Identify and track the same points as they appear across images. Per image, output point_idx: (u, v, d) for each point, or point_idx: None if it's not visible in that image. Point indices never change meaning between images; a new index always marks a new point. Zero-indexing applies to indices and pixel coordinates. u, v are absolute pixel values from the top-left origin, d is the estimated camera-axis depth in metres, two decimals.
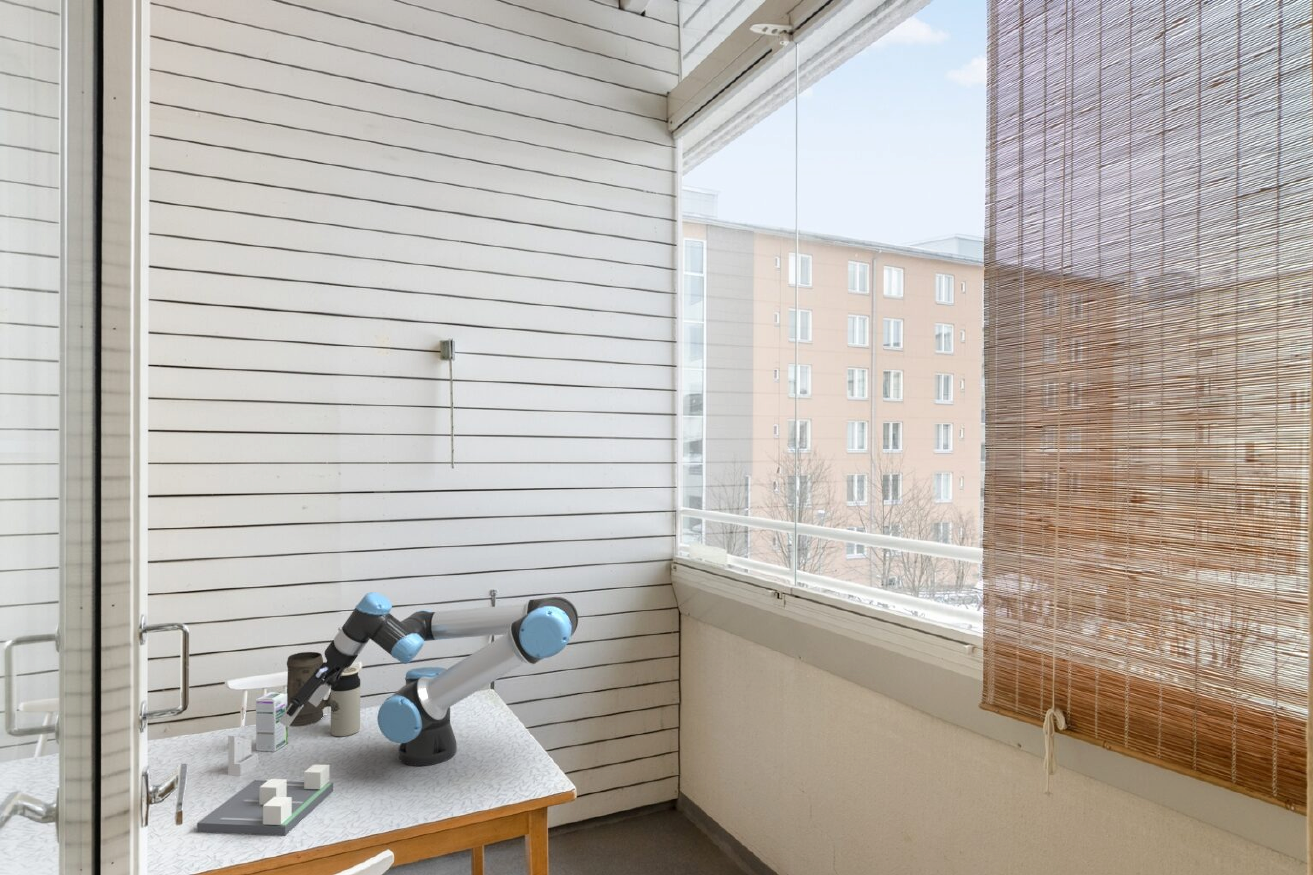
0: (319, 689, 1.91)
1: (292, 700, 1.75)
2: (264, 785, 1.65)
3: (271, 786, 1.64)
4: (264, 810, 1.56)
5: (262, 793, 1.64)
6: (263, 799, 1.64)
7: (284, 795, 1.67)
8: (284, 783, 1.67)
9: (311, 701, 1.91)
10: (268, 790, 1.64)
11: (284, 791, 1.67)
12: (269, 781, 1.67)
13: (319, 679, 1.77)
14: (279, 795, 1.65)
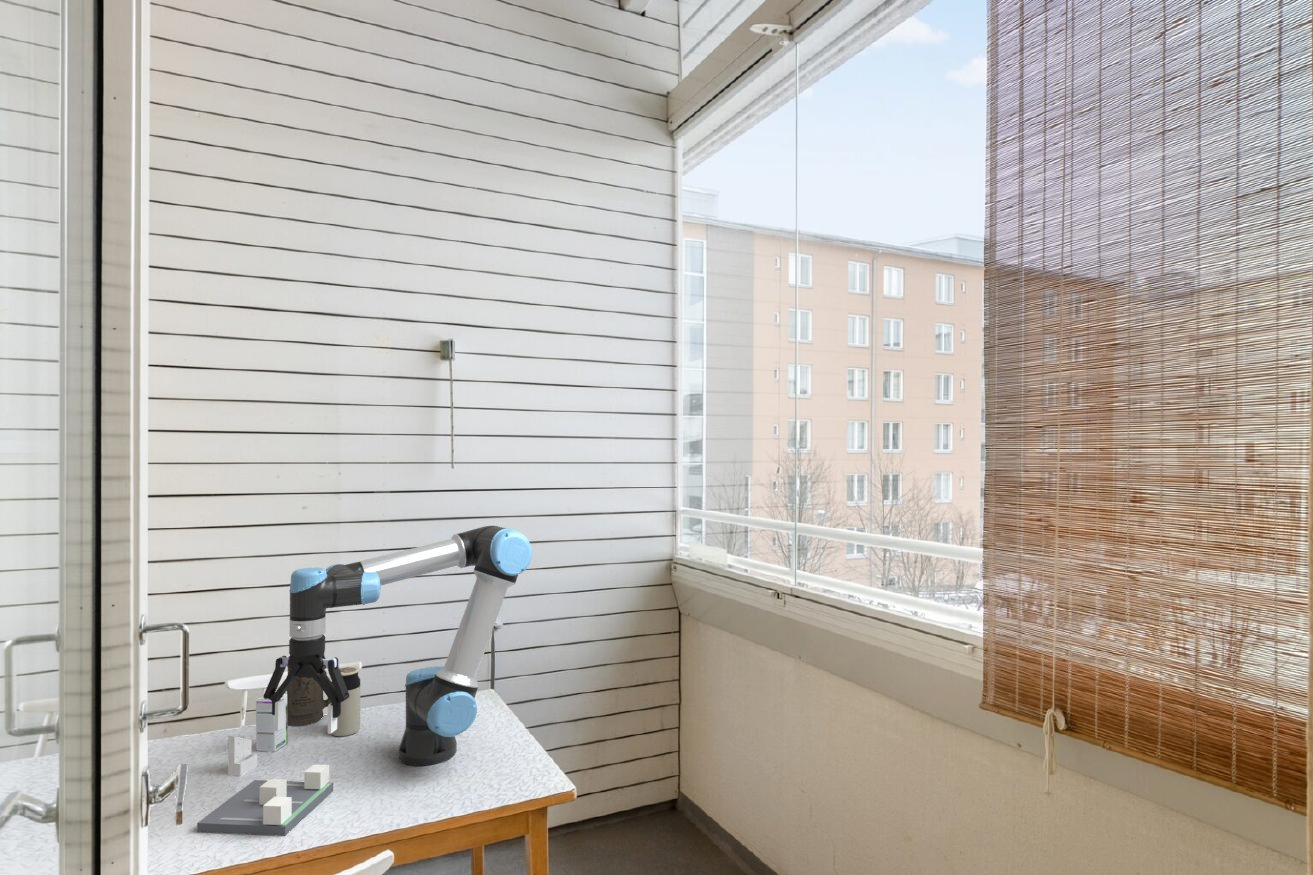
0: (279, 711, 1.66)
1: (344, 697, 1.64)
2: (264, 785, 1.65)
3: (271, 786, 1.64)
4: (264, 810, 1.56)
5: (262, 793, 1.64)
6: (263, 799, 1.64)
7: (284, 795, 1.67)
8: (284, 783, 1.67)
9: (280, 727, 1.66)
10: (268, 790, 1.64)
11: (284, 791, 1.67)
12: (269, 781, 1.67)
13: (337, 666, 1.66)
14: (279, 795, 1.65)
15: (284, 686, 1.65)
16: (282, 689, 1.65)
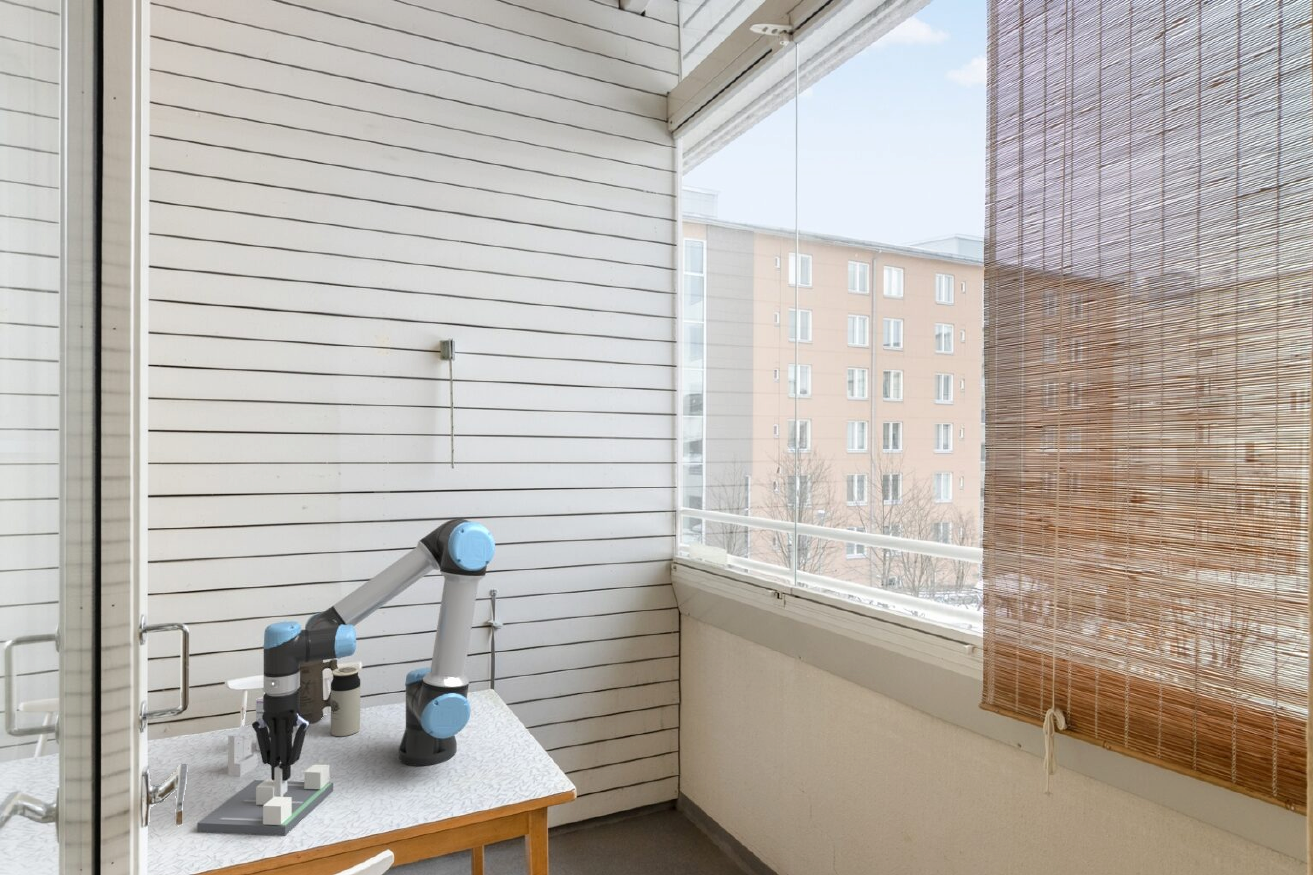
0: None
1: (294, 761, 1.65)
2: (261, 785, 1.65)
3: (267, 786, 1.64)
4: (264, 810, 1.56)
5: (259, 793, 1.64)
6: (260, 798, 1.64)
7: None
8: None
9: None
10: (264, 790, 1.64)
11: None
12: (266, 781, 1.67)
13: (306, 729, 1.66)
14: None
15: (274, 746, 1.65)
16: (274, 750, 1.65)
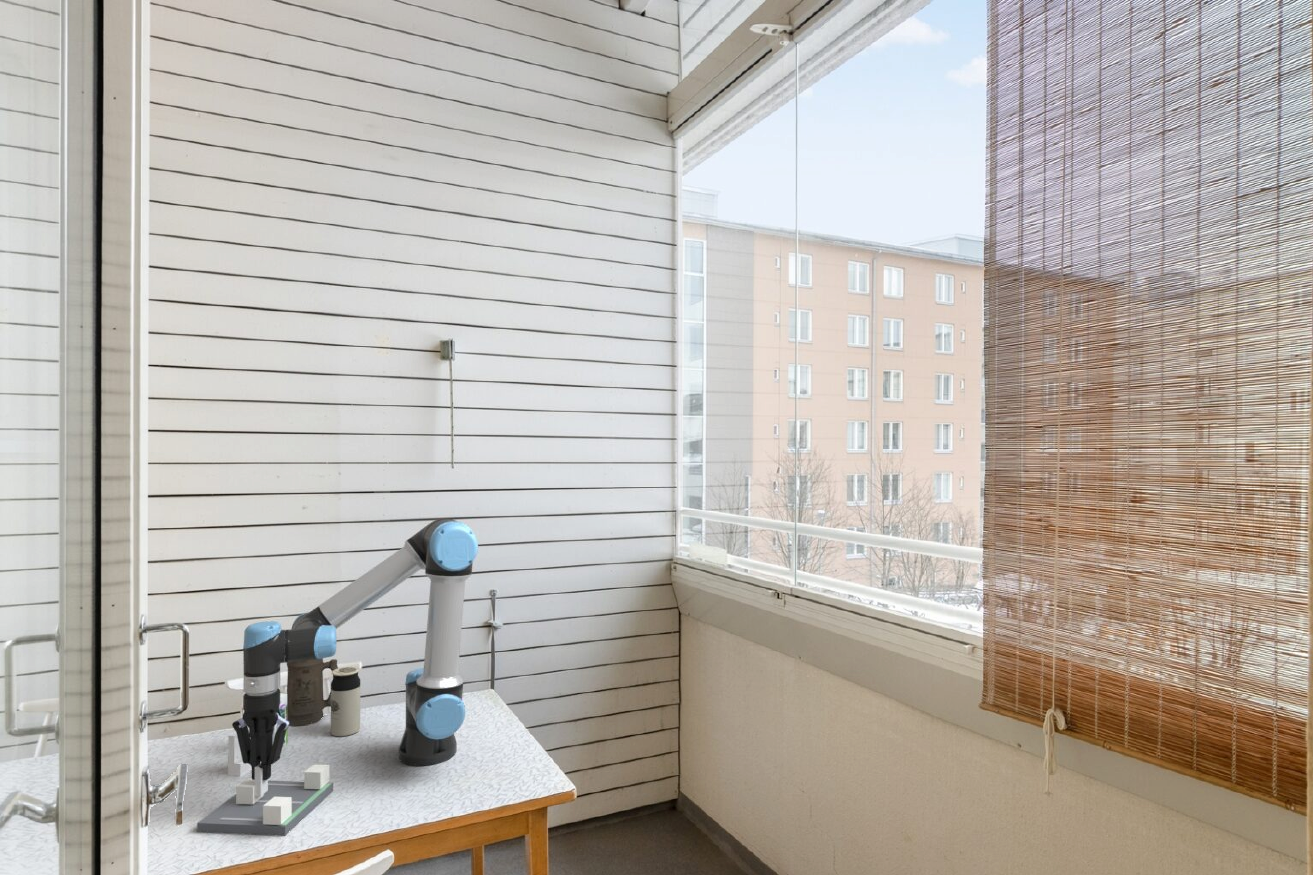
0: None
1: (274, 761, 1.65)
2: (241, 784, 1.65)
3: (247, 785, 1.65)
4: (264, 810, 1.56)
5: (239, 792, 1.64)
6: (240, 798, 1.64)
7: None
8: None
9: None
10: (245, 789, 1.64)
11: None
12: (246, 780, 1.67)
13: (286, 729, 1.67)
14: None
15: (254, 746, 1.65)
16: (254, 750, 1.65)
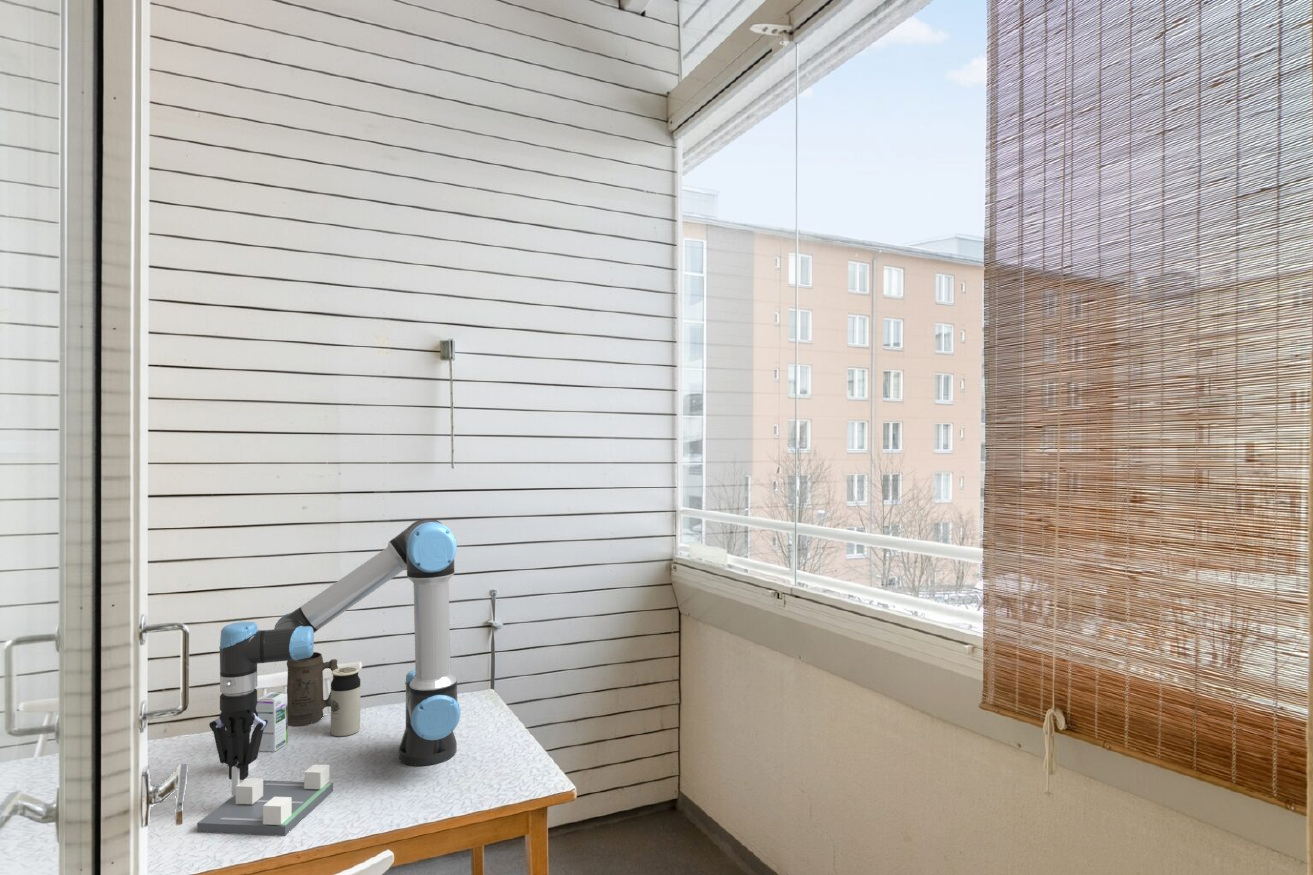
0: None
1: (251, 760, 1.66)
2: (240, 784, 1.65)
3: (247, 785, 1.65)
4: (264, 810, 1.56)
5: (238, 792, 1.64)
6: (239, 798, 1.64)
7: (261, 794, 1.67)
8: (261, 782, 1.67)
9: None
10: (244, 789, 1.64)
11: (261, 790, 1.67)
12: (246, 780, 1.67)
13: (263, 729, 1.67)
14: (255, 794, 1.65)
15: (231, 746, 1.65)
16: (231, 750, 1.66)
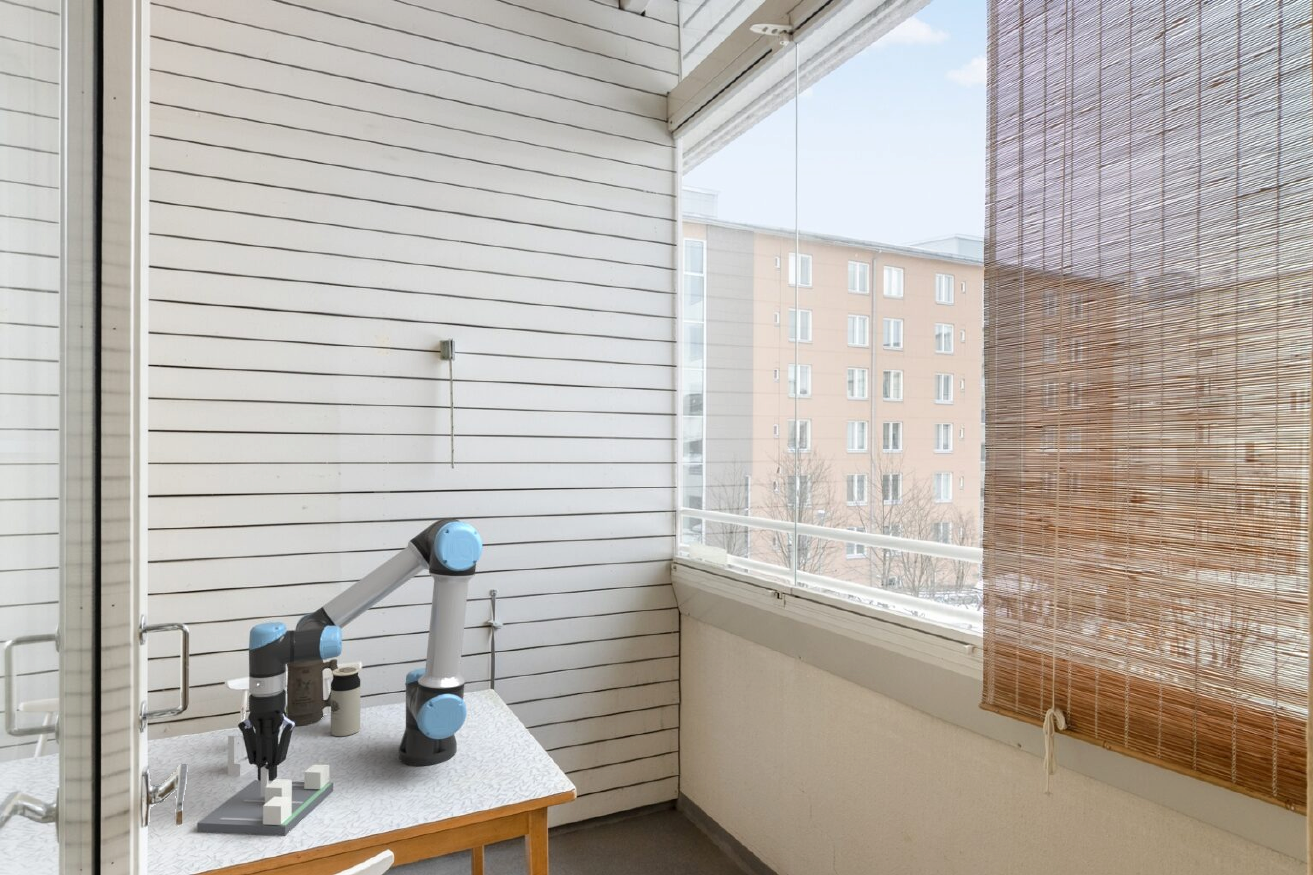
0: None
1: (280, 761, 1.65)
2: (269, 785, 1.65)
3: (276, 786, 1.64)
4: (264, 810, 1.56)
5: (267, 793, 1.64)
6: (269, 799, 1.64)
7: (289, 795, 1.67)
8: (289, 783, 1.67)
9: None
10: (273, 790, 1.64)
11: (289, 791, 1.67)
12: (274, 781, 1.67)
13: (292, 729, 1.67)
14: (284, 795, 1.65)
15: (260, 747, 1.65)
16: (260, 750, 1.65)
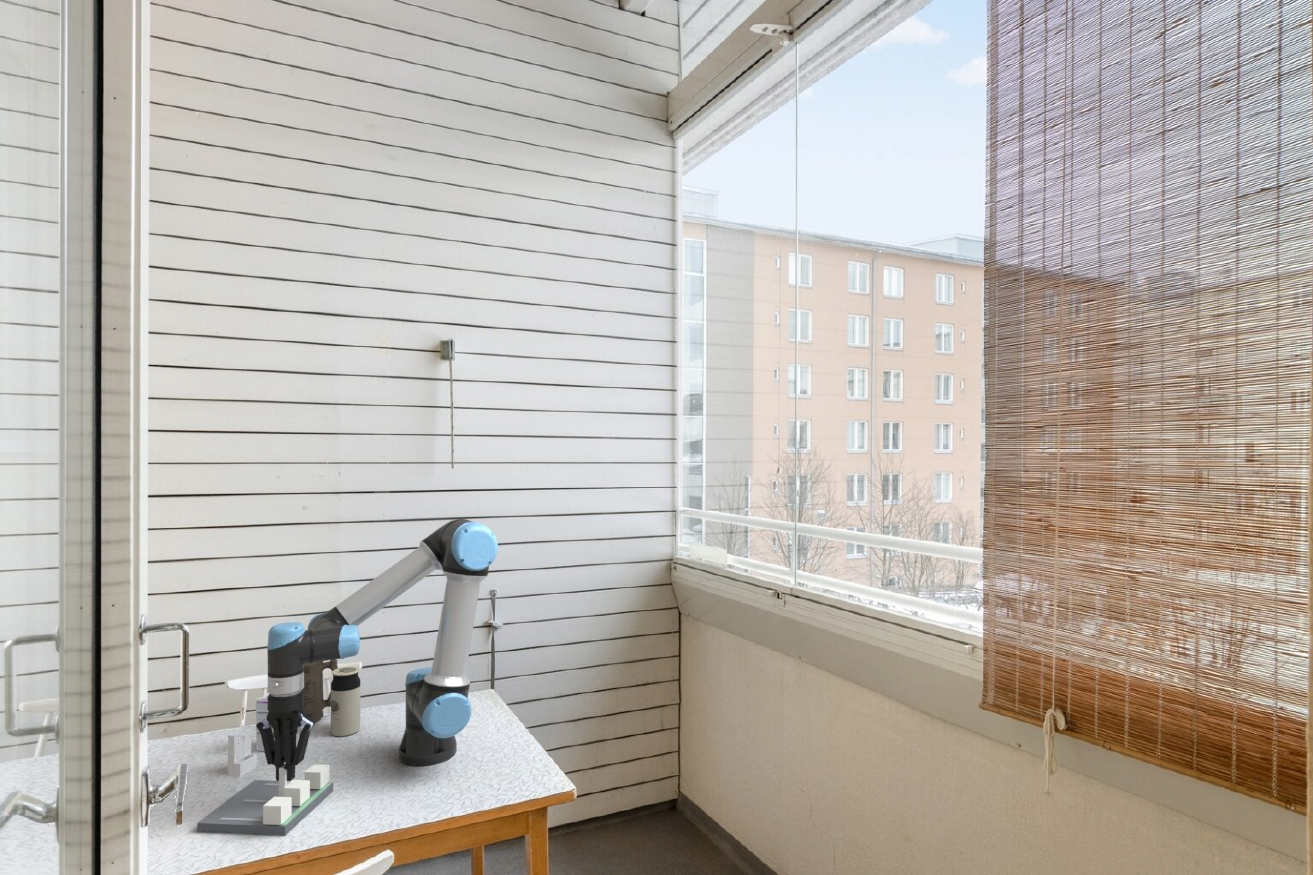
0: None
1: (299, 762, 1.65)
2: (288, 786, 1.64)
3: (295, 787, 1.64)
4: (264, 810, 1.56)
5: (286, 794, 1.64)
6: None
7: (307, 796, 1.67)
8: (307, 784, 1.67)
9: None
10: (292, 791, 1.64)
11: (307, 792, 1.67)
12: (292, 782, 1.66)
13: (310, 730, 1.66)
14: (302, 796, 1.64)
15: (278, 747, 1.65)
16: (278, 751, 1.65)
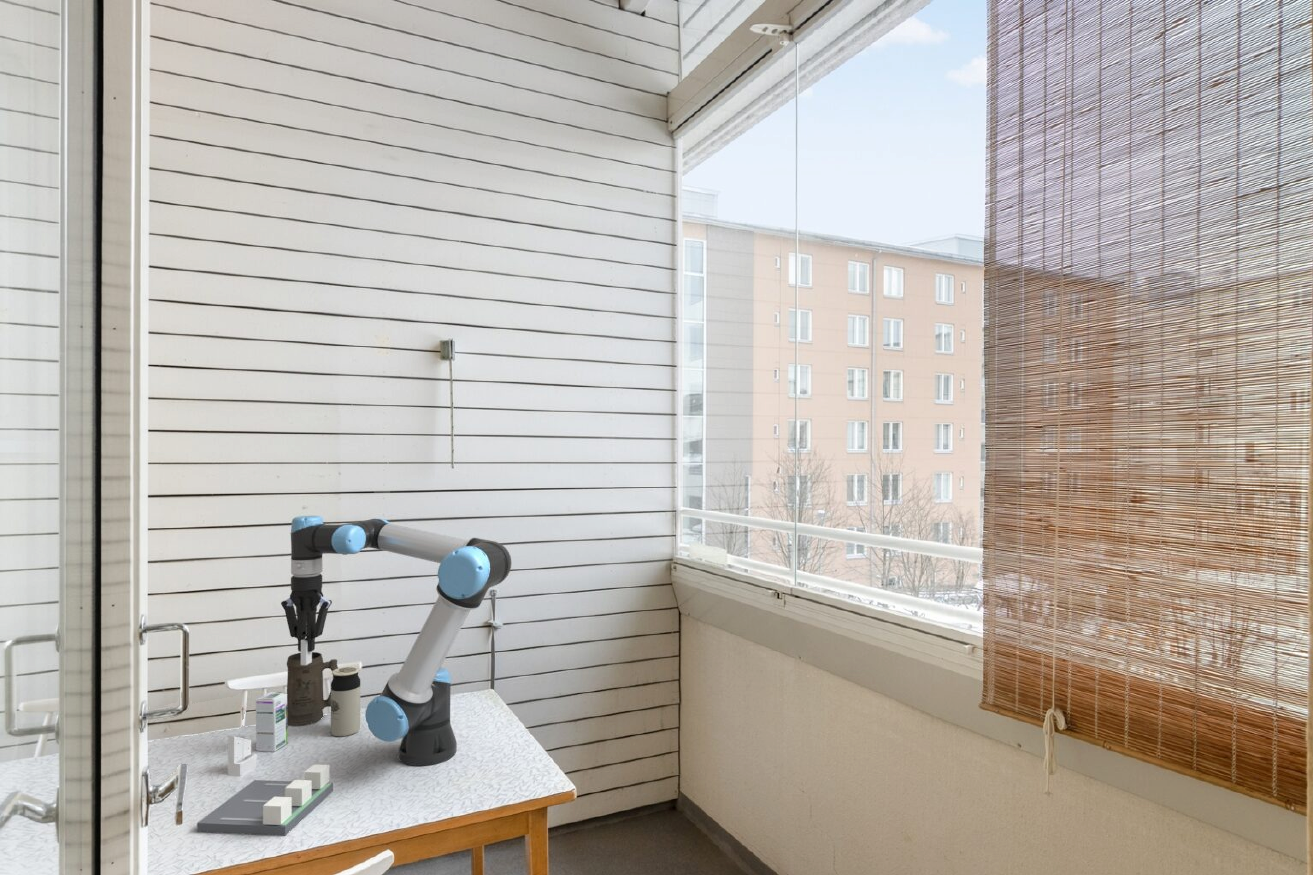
0: None
1: (318, 635, 1.89)
2: (289, 786, 1.64)
3: (296, 787, 1.64)
4: (264, 810, 1.56)
5: (288, 794, 1.64)
6: None
7: (309, 796, 1.66)
8: (309, 784, 1.66)
9: None
10: (293, 791, 1.63)
11: (309, 792, 1.66)
12: (294, 782, 1.66)
13: None
14: (304, 796, 1.64)
15: (300, 622, 1.89)
16: (300, 625, 1.89)
